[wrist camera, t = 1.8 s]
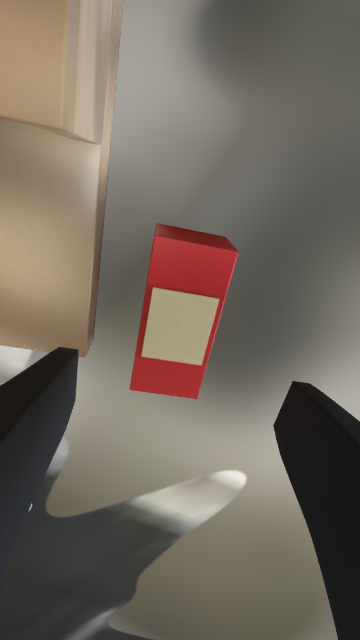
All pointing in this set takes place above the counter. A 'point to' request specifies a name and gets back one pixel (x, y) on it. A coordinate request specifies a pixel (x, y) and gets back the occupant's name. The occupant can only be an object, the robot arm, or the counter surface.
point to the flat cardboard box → (54, 166)
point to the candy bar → (181, 310)
